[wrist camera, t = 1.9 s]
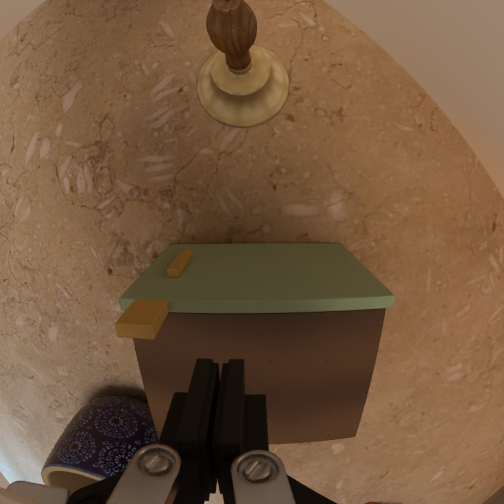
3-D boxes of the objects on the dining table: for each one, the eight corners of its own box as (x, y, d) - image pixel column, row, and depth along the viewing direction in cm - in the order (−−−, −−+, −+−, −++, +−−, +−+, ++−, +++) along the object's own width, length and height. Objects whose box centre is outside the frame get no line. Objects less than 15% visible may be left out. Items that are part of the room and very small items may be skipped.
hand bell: (213, 139, 27) (166, 110, 12) (186, 61, 25) (125, -26, 9) (301, 112, 26) (357, 57, 11) (271, 35, 24) (289, -71, 9)
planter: (67, 376, 34) (14, 450, 20) (180, 380, 34) (151, 482, 19) (109, 454, 39) (82, 524, 24) (208, 461, 38) (198, 545, 24)
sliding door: (169, 237, 29) (94, 311, 14) (340, 236, 29) (420, 307, 14) (170, 252, 29) (100, 335, 14) (339, 250, 29) (415, 332, 14)
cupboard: (171, 256, 30) (127, 311, 18) (338, 255, 30) (386, 308, 18) (183, 360, 33) (158, 439, 21) (327, 359, 33) (355, 437, 21)
